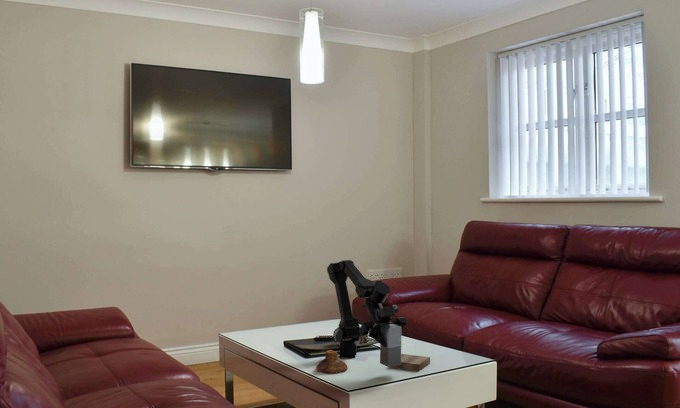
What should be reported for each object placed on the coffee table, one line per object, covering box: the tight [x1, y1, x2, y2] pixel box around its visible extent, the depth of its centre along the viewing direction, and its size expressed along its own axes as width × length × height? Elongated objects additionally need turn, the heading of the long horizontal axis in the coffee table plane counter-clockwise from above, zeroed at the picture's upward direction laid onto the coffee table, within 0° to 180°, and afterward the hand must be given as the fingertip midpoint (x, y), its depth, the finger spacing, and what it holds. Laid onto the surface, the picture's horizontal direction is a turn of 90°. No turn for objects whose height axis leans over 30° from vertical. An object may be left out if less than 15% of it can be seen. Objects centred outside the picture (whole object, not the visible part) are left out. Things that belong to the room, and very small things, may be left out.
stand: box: [391, 353, 431, 372], centre depth 242 cm, size 12×12×2 cm
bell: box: [315, 349, 348, 375], centre depth 237 cm, size 12×12×7 cm
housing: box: [379, 324, 402, 368], centre depth 228 cm, size 6×6×14 cm
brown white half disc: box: [333, 326, 366, 345], centre depth 275 cm, size 15×3×8 cm, turn 58°
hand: (392, 345), depth 227 cm, fingers closed on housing, 5 cm apart
